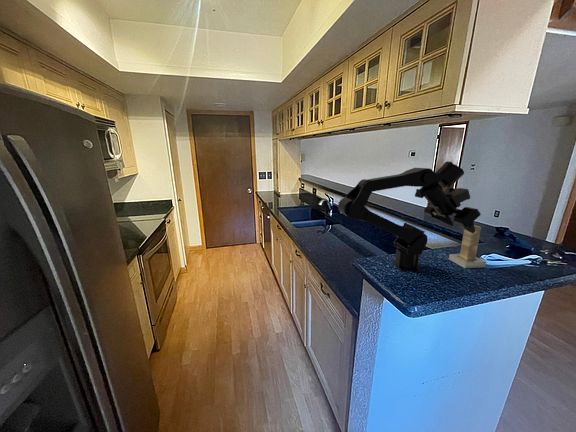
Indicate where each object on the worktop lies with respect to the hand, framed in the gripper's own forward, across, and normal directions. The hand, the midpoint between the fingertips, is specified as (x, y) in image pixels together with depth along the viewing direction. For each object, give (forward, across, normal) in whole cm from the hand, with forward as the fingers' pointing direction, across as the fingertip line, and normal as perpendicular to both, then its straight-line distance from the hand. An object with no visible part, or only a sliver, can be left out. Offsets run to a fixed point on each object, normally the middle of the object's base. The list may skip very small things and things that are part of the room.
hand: (462, 228), depth 83 cm
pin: (+12, 0, +6) cm, 14 cm away
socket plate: (+12, 0, +6) cm, 14 cm away
